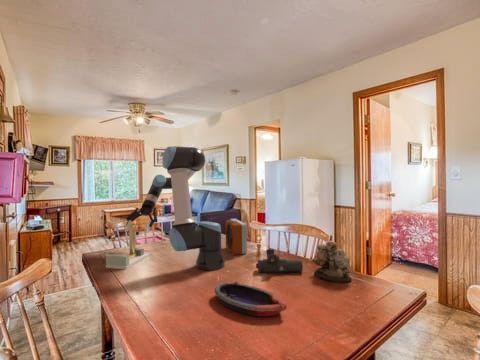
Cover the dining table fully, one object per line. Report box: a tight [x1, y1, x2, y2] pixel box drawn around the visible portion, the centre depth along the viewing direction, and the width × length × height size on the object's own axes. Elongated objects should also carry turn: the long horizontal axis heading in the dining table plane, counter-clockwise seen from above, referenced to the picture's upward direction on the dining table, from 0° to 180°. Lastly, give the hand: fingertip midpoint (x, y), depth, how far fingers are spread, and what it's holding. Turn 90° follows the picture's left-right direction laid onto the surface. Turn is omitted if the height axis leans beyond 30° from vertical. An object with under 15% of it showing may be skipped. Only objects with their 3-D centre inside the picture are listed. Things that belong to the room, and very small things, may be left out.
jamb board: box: [105, 247, 150, 270], centre depth 153 cm, size 22×12×6 cm, turn 168°
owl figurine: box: [311, 240, 352, 284], centre depth 127 cm, size 18×12×17 cm, turn 53°
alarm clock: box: [225, 218, 248, 256], centre depth 172 cm, size 18×9×21 cm, turn 17°
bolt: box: [127, 224, 139, 260], centre depth 156 cm, size 12×3×18 cm, turn 168°
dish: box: [214, 281, 287, 317], centre depth 100 cm, size 16×31×5 cm, turn 50°
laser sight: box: [255, 248, 303, 274], centre depth 135 cm, size 10×22×10 cm, turn 90°
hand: (136, 230), depth 161 cm, fingers open, 13 cm apart
